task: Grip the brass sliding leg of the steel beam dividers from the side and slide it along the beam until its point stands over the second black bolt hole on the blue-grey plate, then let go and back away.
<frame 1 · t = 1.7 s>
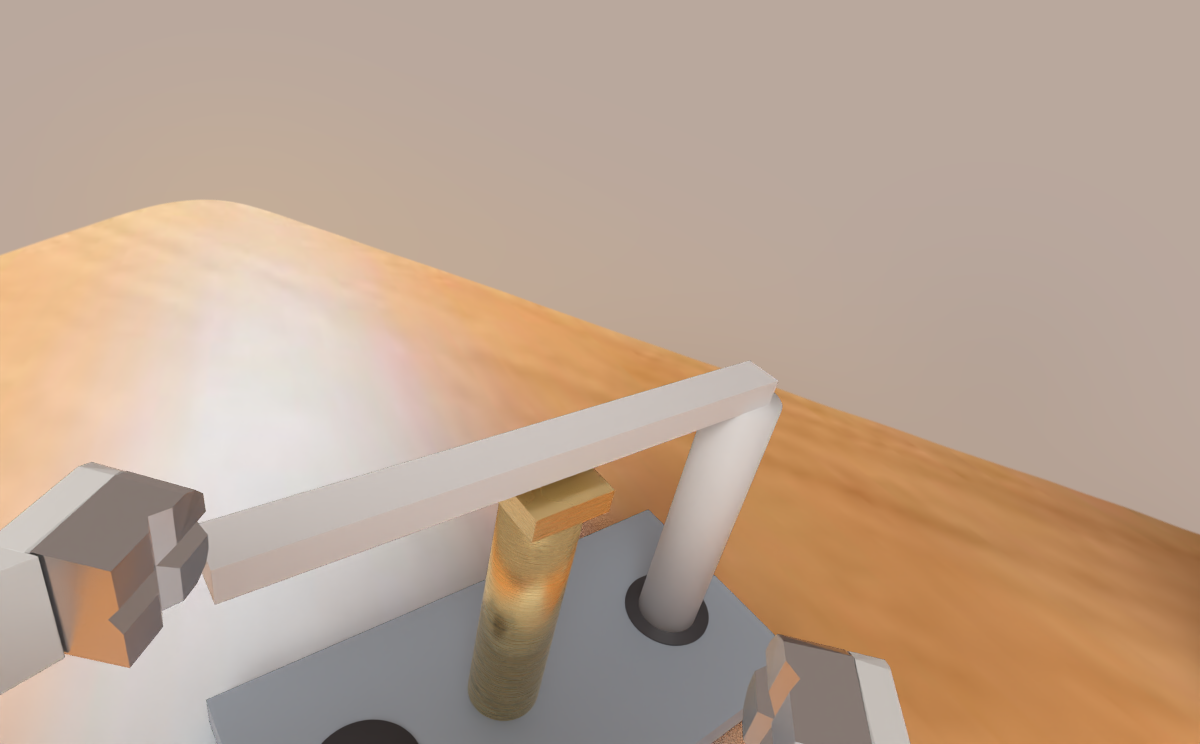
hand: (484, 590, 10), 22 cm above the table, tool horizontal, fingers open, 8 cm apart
bolt plate: (533, 699, 33), on the table
sliding leg: (522, 597, 28), point 8 cm above the table, slide at 10.0 cm
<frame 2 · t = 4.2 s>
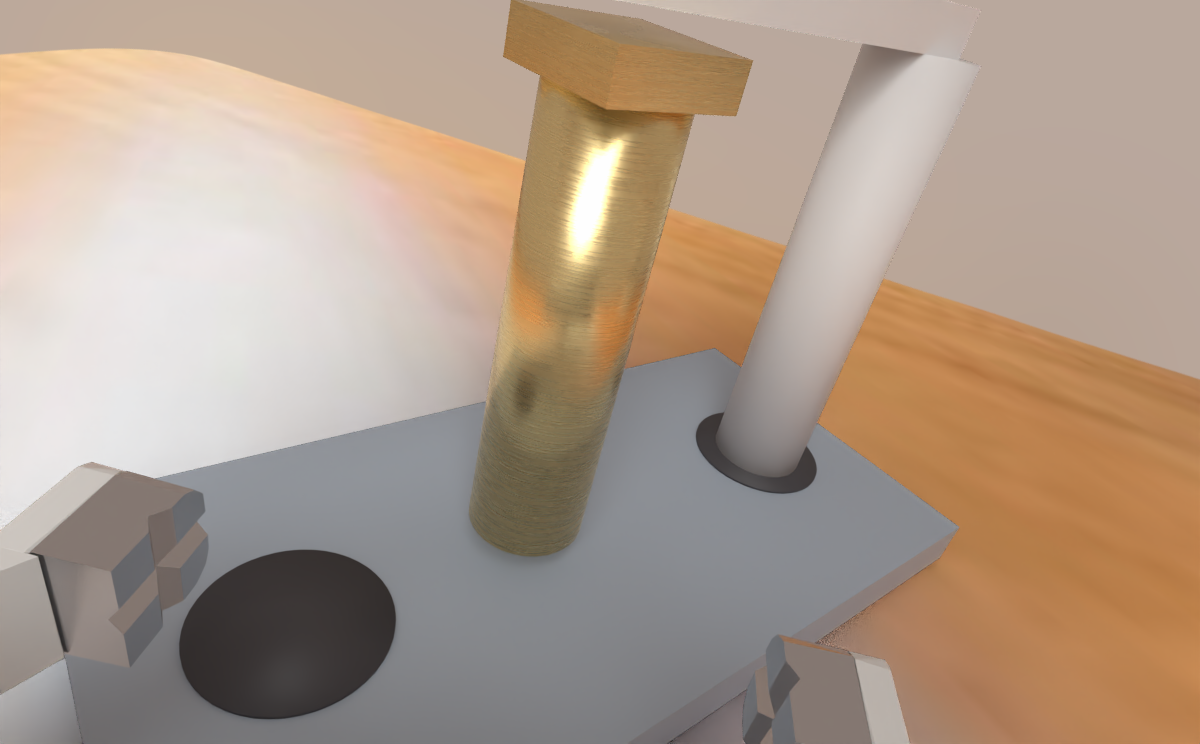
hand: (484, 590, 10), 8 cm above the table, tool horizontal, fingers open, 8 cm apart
bolt plate: (567, 555, 22), on the table
sliding leg: (566, 327, 16), point 8 cm above the table, slide at 10.0 cm
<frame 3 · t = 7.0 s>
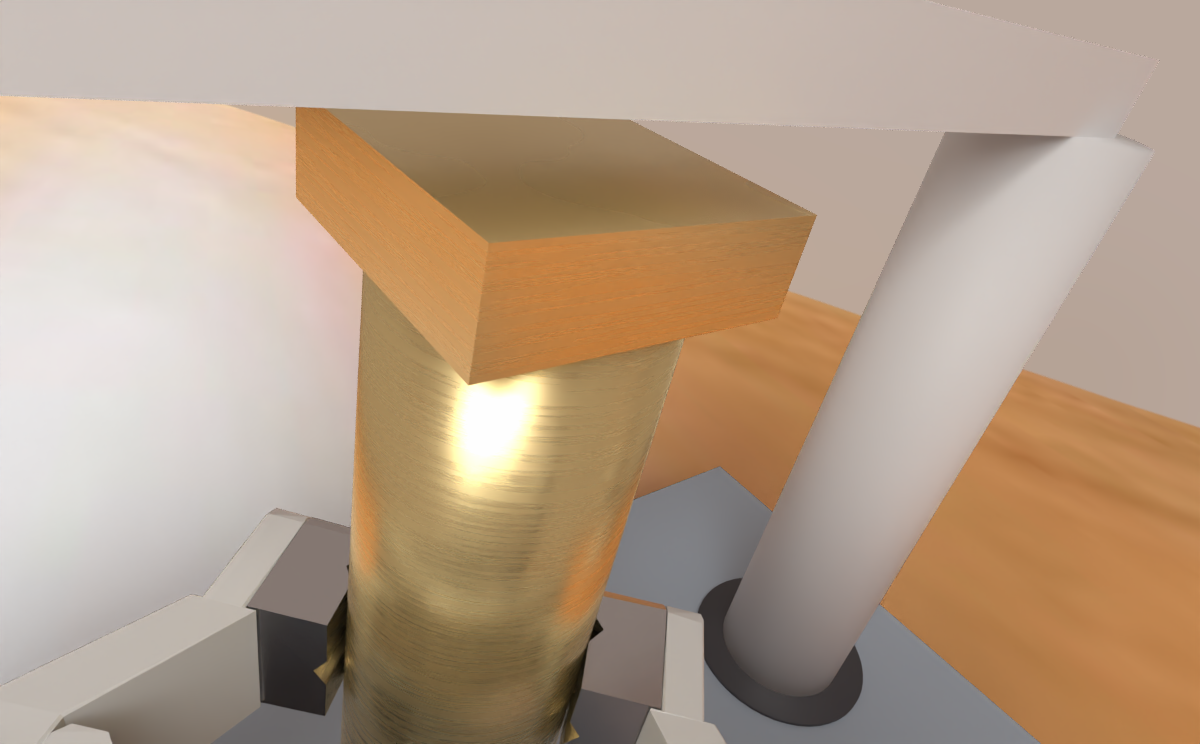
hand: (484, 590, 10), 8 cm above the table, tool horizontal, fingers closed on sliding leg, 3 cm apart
sliding leg: (469, 630, 9), point 8 cm above the table, slide at 10.0 cm, touching gripper
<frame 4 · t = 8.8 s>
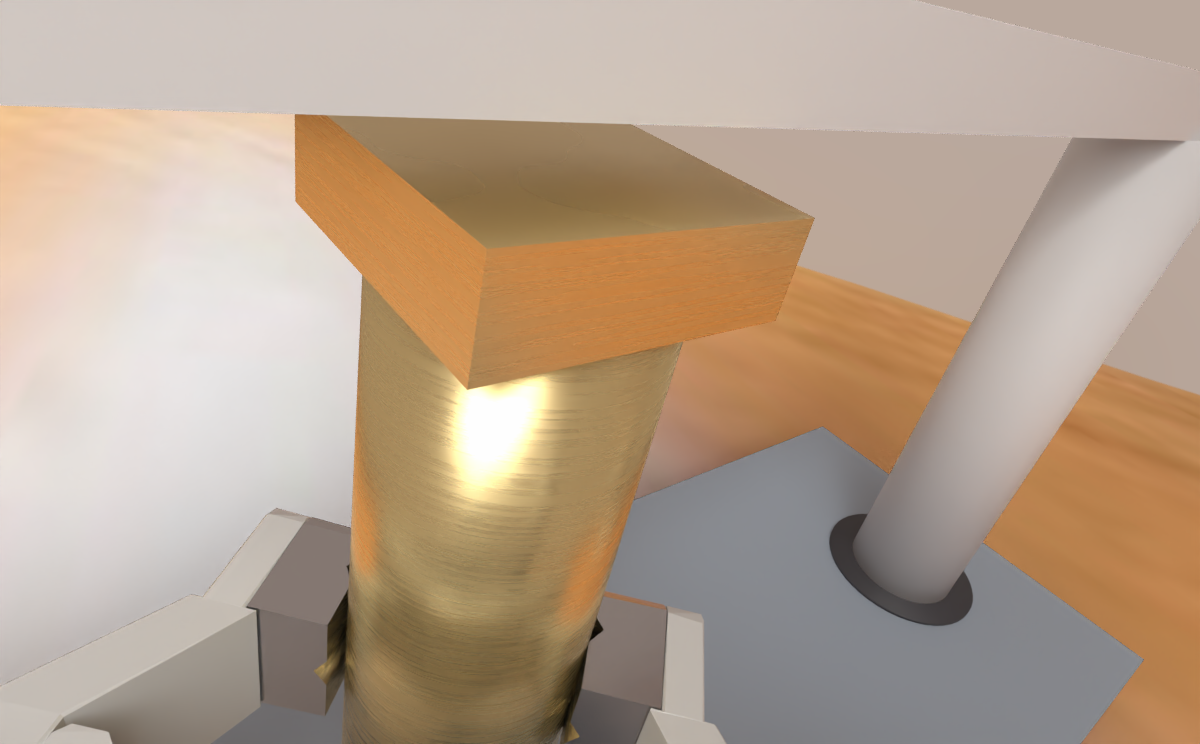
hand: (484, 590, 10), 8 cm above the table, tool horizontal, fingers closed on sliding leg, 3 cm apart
bolt plate: (709, 716, 18), on the table
sliding leg: (469, 632, 9), point 8 cm above the table, slide at 16.0 cm, touching gripper
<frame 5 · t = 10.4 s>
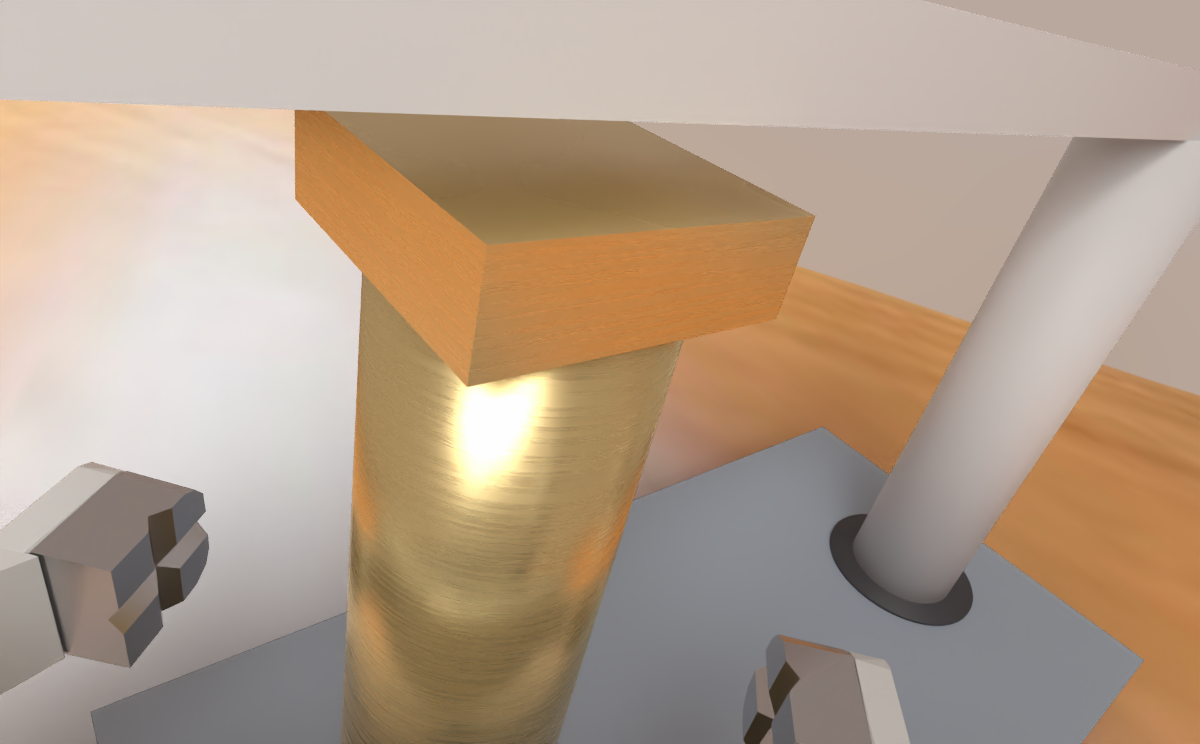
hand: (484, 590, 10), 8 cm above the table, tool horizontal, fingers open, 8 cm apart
bolt plate: (709, 716, 18), on the table
sliding leg: (469, 631, 9), point 8 cm above the table, slide at 16.0 cm
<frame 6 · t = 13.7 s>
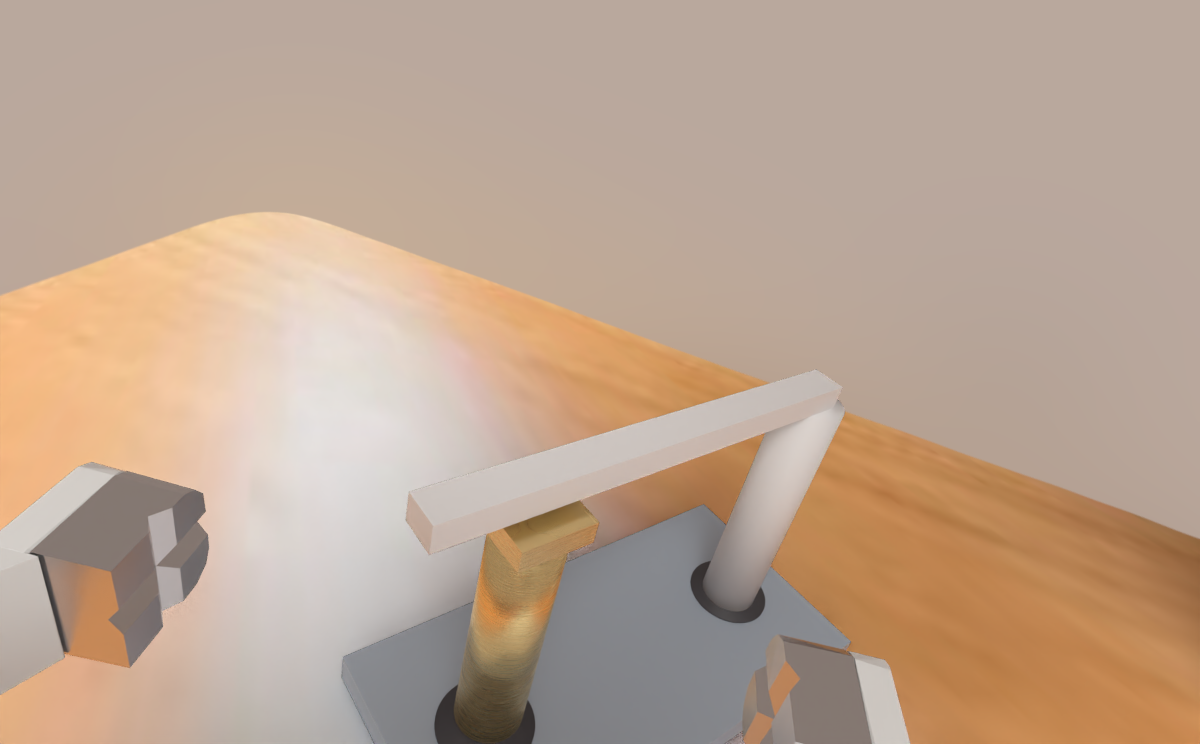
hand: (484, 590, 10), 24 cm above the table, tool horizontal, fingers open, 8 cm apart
bolt plate: (615, 666, 38), on the table
sliding leg: (509, 623, 29), point 8 cm above the table, slide at 16.0 cm
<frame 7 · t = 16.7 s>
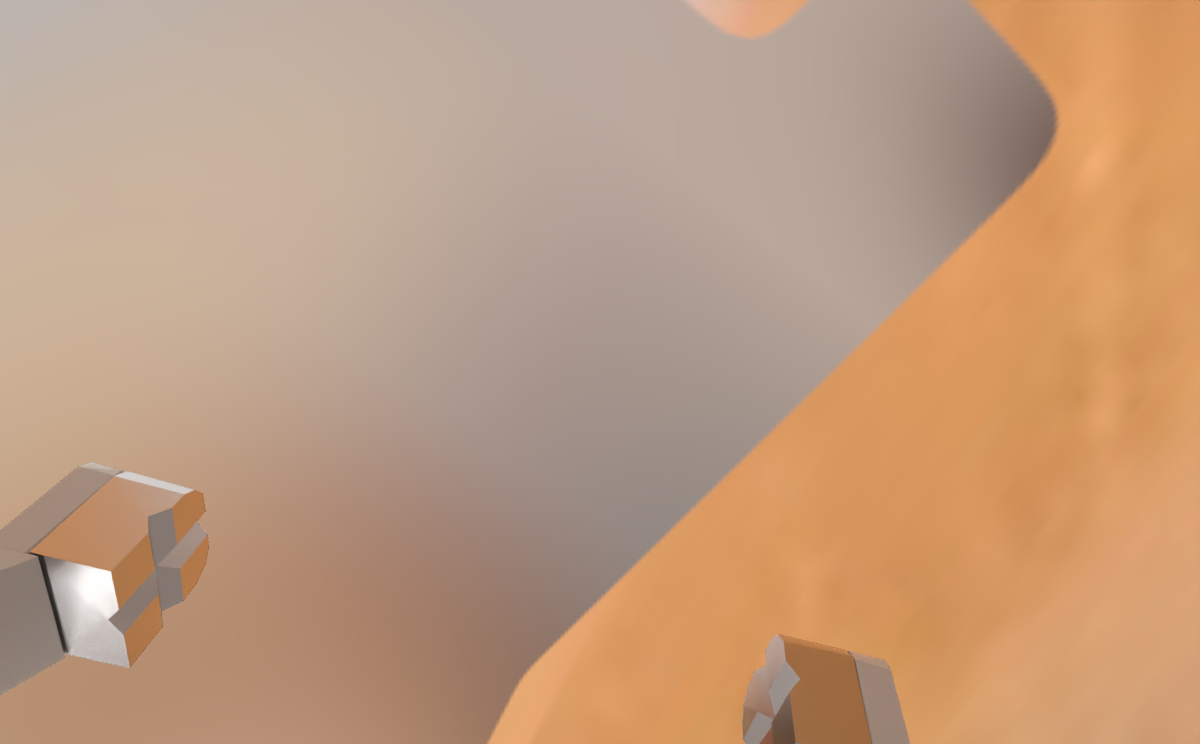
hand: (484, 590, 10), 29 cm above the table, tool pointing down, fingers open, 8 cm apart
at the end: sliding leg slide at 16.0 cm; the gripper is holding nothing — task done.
